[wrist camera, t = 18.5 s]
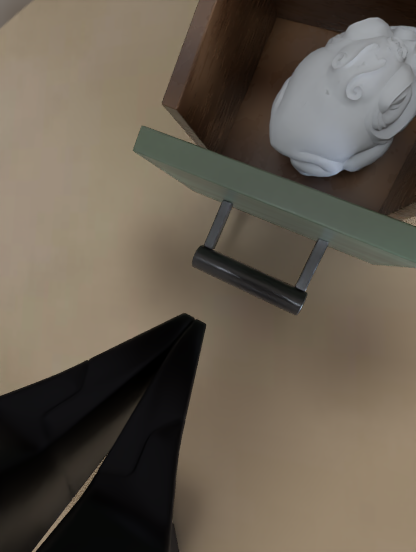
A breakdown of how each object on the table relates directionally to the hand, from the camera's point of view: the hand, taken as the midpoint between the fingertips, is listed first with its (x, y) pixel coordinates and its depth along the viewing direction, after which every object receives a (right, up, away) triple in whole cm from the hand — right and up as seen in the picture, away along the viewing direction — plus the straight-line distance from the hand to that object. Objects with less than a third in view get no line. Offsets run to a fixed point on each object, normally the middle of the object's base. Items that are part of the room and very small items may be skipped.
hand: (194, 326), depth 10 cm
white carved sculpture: (+8, +10, +9) cm, 15 cm away
